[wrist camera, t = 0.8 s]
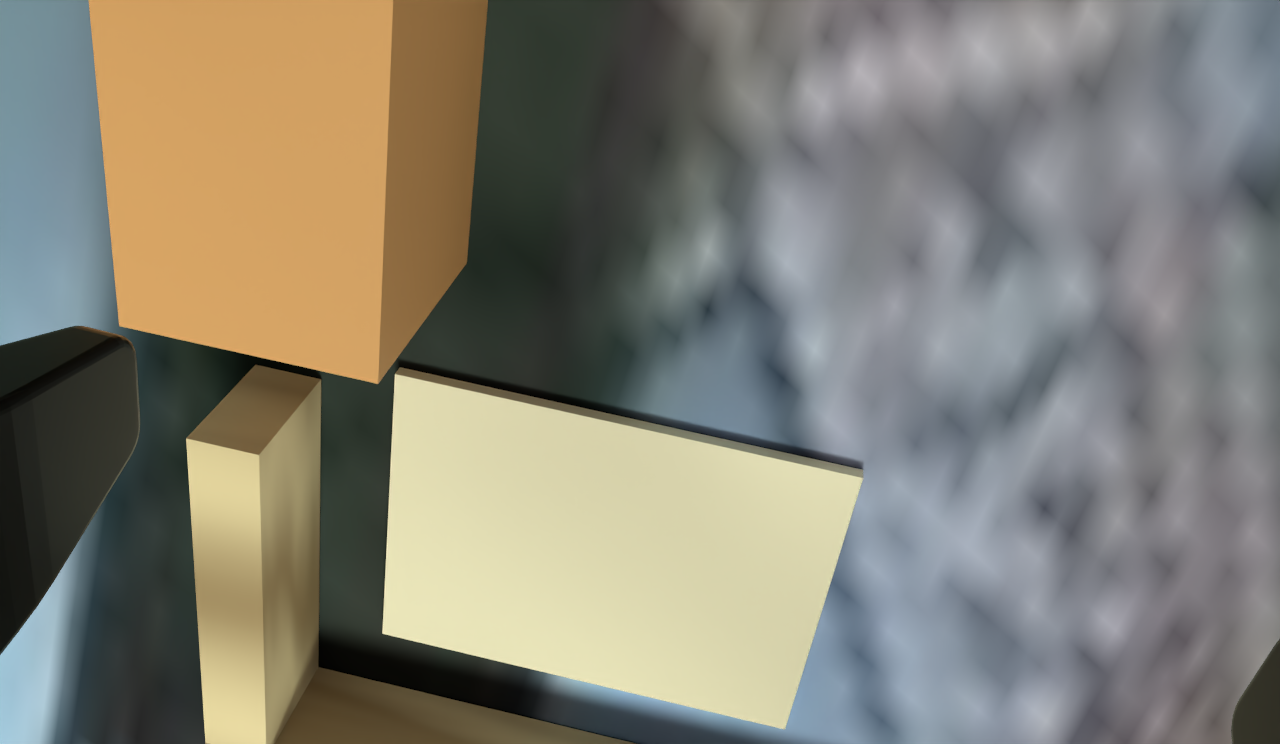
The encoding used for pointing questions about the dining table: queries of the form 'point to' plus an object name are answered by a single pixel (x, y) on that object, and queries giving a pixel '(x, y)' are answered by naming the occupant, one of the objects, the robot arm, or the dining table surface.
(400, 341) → the orange bar
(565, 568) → the pad
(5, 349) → the robot arm
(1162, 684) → the dining table surface
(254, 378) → the arena
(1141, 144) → the dining table surface
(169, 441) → the dining table surface
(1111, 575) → the dining table surface
